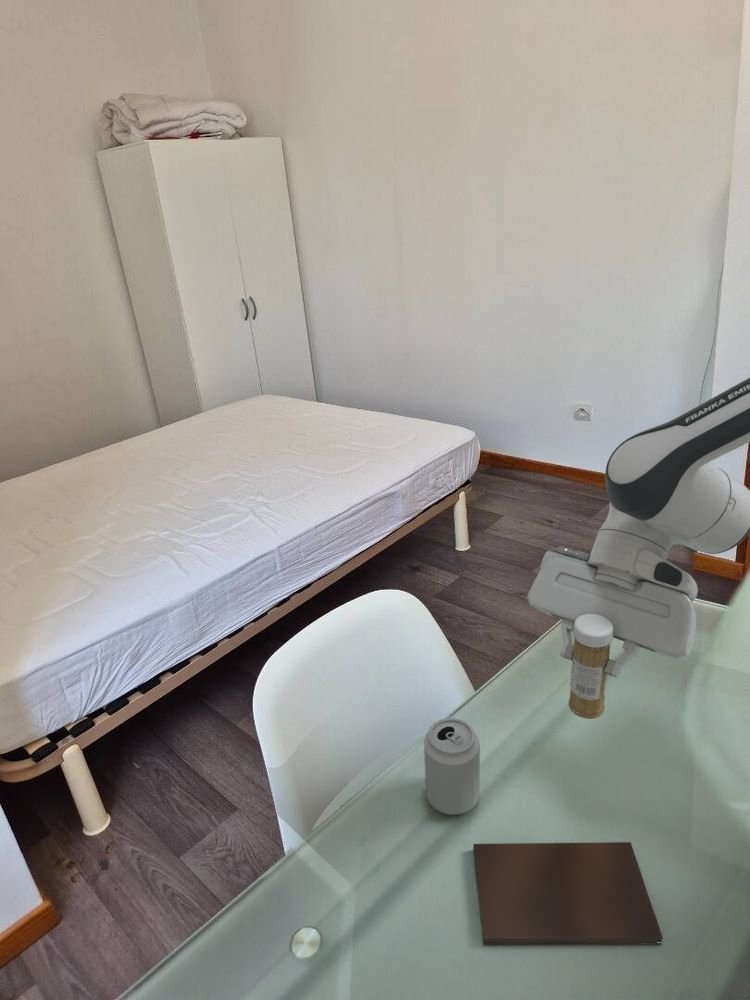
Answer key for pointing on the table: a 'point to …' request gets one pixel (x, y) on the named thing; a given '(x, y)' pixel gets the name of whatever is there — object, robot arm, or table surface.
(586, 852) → the walnut board
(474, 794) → the can
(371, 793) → the table surface
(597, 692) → the spice jar
